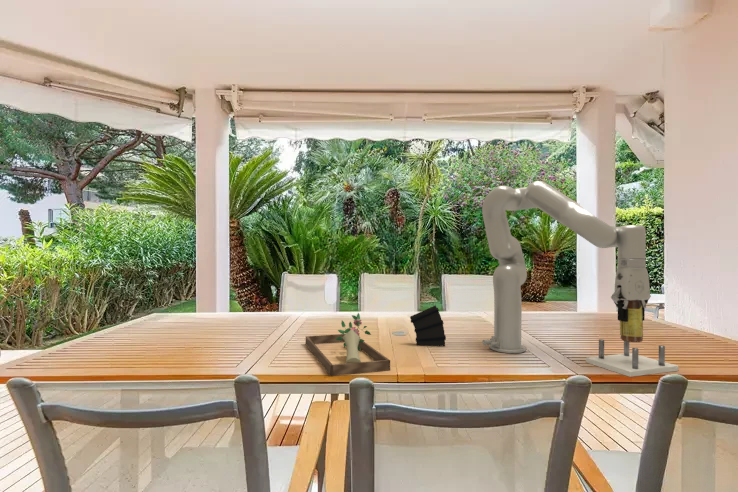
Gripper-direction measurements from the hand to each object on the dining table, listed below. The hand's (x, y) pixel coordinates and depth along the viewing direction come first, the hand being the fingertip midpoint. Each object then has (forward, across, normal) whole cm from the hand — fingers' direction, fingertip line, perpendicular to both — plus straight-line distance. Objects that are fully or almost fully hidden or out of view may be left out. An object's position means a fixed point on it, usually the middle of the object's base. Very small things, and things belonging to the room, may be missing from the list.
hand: (631, 319), depth 133 cm
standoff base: (+15, 0, 0) cm, 15 cm away
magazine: (+15, -49, +45) cm, 68 cm away
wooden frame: (+15, -84, +39) cm, 94 cm away
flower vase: (+15, -81, +36) cm, 90 cm away
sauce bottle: (+7, 0, 0) cm, 7 cm away
